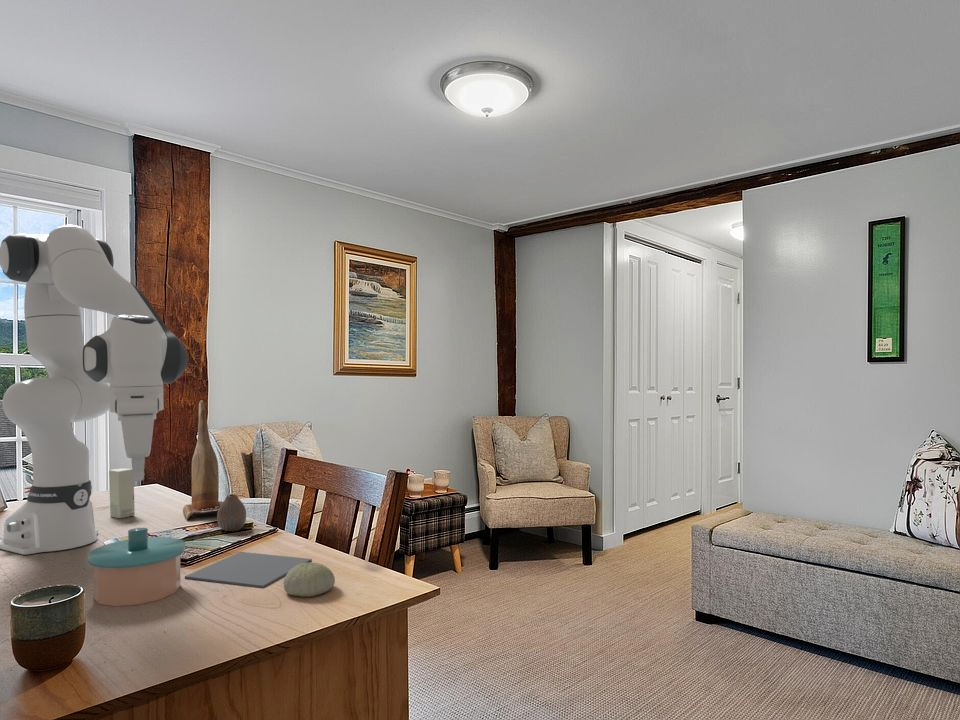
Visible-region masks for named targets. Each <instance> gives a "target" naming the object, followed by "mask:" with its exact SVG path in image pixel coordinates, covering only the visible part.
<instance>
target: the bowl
mask: <svg viewBox="0 0 960 720" xmlns="http://www.w3.org/2000/svg"><path fill="white" fill-rule="evenodd" d="M180 587H181V554H180V555H178V556H177V557H174V558H172V559H169V560H166V561H162V562H158V563H154V564H149V565H143V566H136V567H126V568H103V567H96V566H93V600H95V602H96V603H97V604H98V605H103V606H109V607H110V606H112V607H122V606H124V607H125V606H135V605H136V606H138V605H143V604H146V603H151V602H155V601H159V600H162V599H164V598H166V597H169V596H171V595H172V594H175V593H177V591H179V588H180Z"/></svg>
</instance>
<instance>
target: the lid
mask: <svg viewBox="0 0 960 720" xmlns="http://www.w3.org/2000/svg"><path fill="white" fill-rule="evenodd" d="M148 533H149V531H148V527H135V528H134V527H133V528H131V529H128V530H127V534H128V535H127V539H124V540H123V539H122V540H118V541H114V542H110V543H106V544H104V545H100V546H98V547H96V548H93V549H92V550H90V551H89V553H88V554H87V562H88V564H89V565H91V566H93V567H94V566H96V567H103V568H126V567H136V566H143V565H149V564H154V563H158V562H162V561H166V560H169V559H172V558H174V557H177V556H178V555H180V556H181V555H182V554H183V553H184V552H185V550H186V542H185V541H184V540H183V539H180V538H177V537H170V536H169V537H168V536H148Z"/></svg>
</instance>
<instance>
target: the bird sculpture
mask: <svg viewBox="0 0 960 720" xmlns="http://www.w3.org/2000/svg"><path fill="white" fill-rule="evenodd" d="M205 407H206V406H205V403H204V400H203V399H201V400H200V401H199V404H198V425H197V440H196V446H195V448H194V452H193V456H192V459H191V503H190V504H185V505H184V506H183V508H182V513H183V516H184V519H185V521H188V519H189V518H190V517H191V516H192V515H195V513H201V512H210V511H211V512H212V511H218V509H219V507H220V505H221V504H222V503H223V501H222V500H221V501H220V500H219V496H220V495H219V493H220V492H219V488H220V485H219V482H220V479H219V478H220V475H219V462H218V457H217V455H216V452H215V449H214V447H213V445H212V442H211V438H210V437H211V436H210V433H209V426H208V420H207V415H206V408H205Z"/></svg>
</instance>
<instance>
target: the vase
mask: <svg viewBox="0 0 960 720" xmlns="http://www.w3.org/2000/svg"><path fill="white" fill-rule="evenodd" d="M222 502H223V503H222V504H221V505H220V507H219V506H218V507H219V509H218V510H217V514H216V520H217V524H218V526H219V528H220V529H221V530H222V531H223V530H225V531H224V532H226V531H232V532H238V531H240V530H241V529H242V528H243V526H244V525H245V523H246V521H247V510H246V506H245V504H244V503H243V501H242V500H240V499H239V497H238V494H235V493H229V494H227V495H226V497H225V499H224V500H223V501H222Z"/></svg>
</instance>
